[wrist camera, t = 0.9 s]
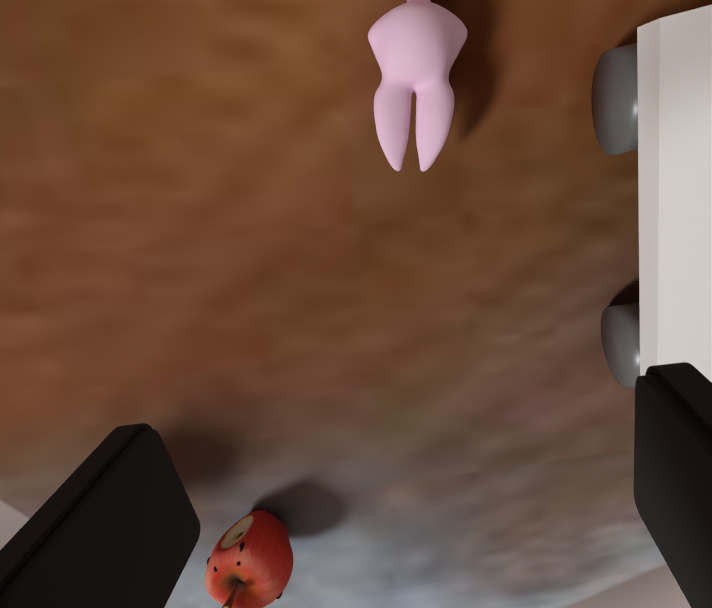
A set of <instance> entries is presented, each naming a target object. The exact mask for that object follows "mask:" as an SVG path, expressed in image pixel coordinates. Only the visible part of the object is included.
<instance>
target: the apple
mask: <svg viewBox="0 0 712 608" xmlns="http://www.w3.org/2000/svg"><path fill="white" fill-rule="evenodd" d="M207 565H208V566H207V570H206V575H205V584H206V588H207V591H208V592H209V594H210V595H211V596H212V597H213V598H214V599H215V600H216V601H218V602H219V603H221V604H223V606H222V608H263V607H265V606H267V605H268V604H270V603H271V602H273V601H274V600H275V599H279V598H280V597H281V595H282V591H283V590H284V588H285V587H286V585H287V583H288V581H289V579H290V576H291V573H292V568H293V553H292V549H291V545H290V542H289V538H288V531H287V528H286V526H285V525H284V523H283V522H281V521H280V520H279V519H277V518H276V517H275V516H274V515H273V514H271V513H270V512H267V511H264V510H258V511H254V512H252V513H250V514H248V515H246V516H245V517H243V518H242V519H241V520H239V521H238V522H237V523H235V524H234V525H233V526H232V527H231V528H230V529H229V530H228V531H227V532H226V533H225V534H224V535H223V536H222V537H221V539H220V540H219V542H218V543H217V545H216V546H215V548H214V550H213V552H212V554H211V557H209V558H208V560H207Z"/></svg>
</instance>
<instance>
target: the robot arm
mask: <svg viewBox="0 0 712 608" xmlns="http://www.w3.org/2000/svg"><path fill="white" fill-rule="evenodd" d="M634 499H635V503H636V506H637V509H638V512H639V514H640V516H641V518H642V520H643V521H644V523H645V525H646V527H647V529H648V530H649V532H650V534H651V536H652V538H653V539H654V541H655V543H656V545H657V547H658V548H659V550H660V552H661V554H662V556H663V557H664V559H665V561H666V563H667V565H668V566H669V568H670V570H671V572H672V574H673V575H674V577H675V578H676V581H677V583H678V584H679V586H680V588H681V590H682V592H683V593H684V595H685V597H686V599H687V600H688V602H689V604H690V606H691V608H712V382H710V381H709V380H708V379H707V378H706V377H705V376H704V375H703V374H702V373H701V372H700V371H698V370H697V369H696V368H695V367H694V366H693V365H691V364H690V363H687V362H682V363H673V364H664V365H655V366H650V367H648V368H647V370H646V374H645V375H642V376H638V377H637V379H636V384H635V442H634ZM199 535H200V522H199V519H198V517H197V515H196V513H195V511H194V508H193V506H192V504H191V502H190V500H189V498H188V495H187V493H186V491H185V489H184V487H183V485H182V482H181V480H180V478H179V476H178V474H177V471H176V469H175V467H174V465H173V463H172V461H171V458H170V456H169V454H168V452H167V450H166V448H165V445H164V443H163V441H162V439H161V437H160V435H159V433H158V432H157V431H156V430H153V429H152V428H151V426H149V425H148V424H144V423H142V424H133V425H125V426H119V427H117V428H115V429H114V430H113V431H112V432H111V433H110V434H109V435H108V436H107V437H106V438H105V439H104V441H103V442H102V443H101V444H100V445H99V446H98V447H97V448H96V449H95V450H94V451H93V452H92V453H91V454H90V455H89V457H88V458H87V459H86V460H85V461H84V462H83V463H82V464H81V465H80V466H79V467H78V468H77V469H76V470H75V471H74V473H73V474H72V475H71V476H70V477H69V478H68V479H67V480H66V481H65V482H64V483H63V484H62V485H61V486H60V487H59V488H58V490H57V491H56V492H55V493H54V494H53V495H52V496H51V497H50V498H49V499H48V500H47V501H46V502H45V503H44V504H43V506H42V507H41V508H40V509H39V510H38V511H37V512H36V513H35V514H34V515H33V516H32V517H31V518H30V519H29V520H28V522H27V523H26V524H25V525H24V526H23V527H22V528H21V529H20V530H19V531H18V532H17V533H16V534H15V535H14V537H13V538H12V539H11V540H10V541H9V542H8V543H7V544H6V545H5V546H4V547H3V548H2V549H1V550H0V608H164V607H165V605H166V603H167V601H168V599H169V597H170V595H171V593H172V591H173V589H174V587H175V585H176V583H177V581H178V579H179V577H180V575H181V573H182V571H183V569H184V567H185V565H186V563H187V561H188V559H189V557H190V555H191V553H192V551H193V549H194V547H195V545H196V543H197V541H198V539H199Z"/></svg>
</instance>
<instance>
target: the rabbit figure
mask: <svg viewBox="0 0 712 608" xmlns="http://www.w3.org/2000/svg"><path fill="white" fill-rule="evenodd" d="M467 34H468V33H467V29H466V27H465V25H464V24H463V23H462V21H461V20H460V19H459V18H458V17H457V16H455V15H454V14H453V13H451V12H450V11H448V10H447V9H445V8H443V7H441V6H440V5H437V4H435V3H432V2H431V0H407V3H404V4H402V5H400V6H398V7H396V8H394V9H393V10H391V11H389V12H388V13H386V14H385V15H383V16H382V17H381V18H380V19H379V20H378V21H377V22H376V23H375V24H374V25H373V26H372V27H371V29H370V31H369V33H368V40H369V42H370V45H371V47H372V49H373V51H374V54H375V56H376V59H377V61H378V63H379V66H380V68H381V72H382V82H381V84H380V86H379V88H378V89H377V91H376V94H375V98H374V116H375V123H376V130H377V135H378V138H379V141H380V144H381V147H382V149H383V151H384V153H385V155H386V157H387V159H388V161H389V163H390V164H391V166H392V167H393V168H394V169H395V170H396V171H400V170H401V167H402V162H403V158H404V154H405V150H406V147H407V141H408V135H409V125H410V113H411V97H412V93H413V92H415V93H416V95H417V102H416V142H417V150H418V155H419V162H420V169H421V171H426V170H427V169H428V168H429V167H430V166H431V165H432V164H433V162H434V161H435V159H436V157H437V156H438V154H439V152H440V151H441V149H442V147H443V145H444V143H445V141H446V138H447V135H448V132H449V129H450V124H451V121H452V116H453V112H454V93H453V90H452V88H451V86H450V84H449V79H448V78H449V72H450V69H451V67H452V65H453V63H454V61H455V59H456V58H457V56H458V54H459V52H460V50H461V48H462V46H463V44H464V42H465V41H466V39H467Z"/></svg>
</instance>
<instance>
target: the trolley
mask: <svg viewBox="0 0 712 608" xmlns="http://www.w3.org/2000/svg"><path fill="white" fill-rule="evenodd" d="M592 115H593V123H594V128H595V132H596V135H597V138H598V141H599V143H600V145H601V147H602V148H603V150H604V151H605V152H606V153H607V154H609V155H616V154H620V153H625V152H630V151H635V150H638V187H639V303H638V302H637V303H630V304H623V305H617V306H610V307H606V308H605V309H604V311H603V314H602V318H601V335H602V343H603V348H604V352H605V356H606V359H607V362H608V365H609V367H610V370H611V372H612V374H613V376H614V377H615V379H616V380H617V382H618V383H619V384H620V385H621V386H622V387H625V388H629V387H635V384H636V379H637V377H638V376H642V375H645V374H646V370H647V368H648V367H650V366H655V365H664V364H673V363H682V362H687V363H690V364H691V365H693V366H694V367H695V368H696V369H697V370H698V371H700V372H701V373H702V374H703V375H704V376H705V377H706V378H707V379H708V380H709V381H710V382H712V5H708V6H704V7H700V8H697V9H693V10H689V11H685V12H681V13H678V14H674V15H670V16H666V17H662V18H659V19H657V20H654V21H652V22H649V23H647V24H644V25H642V26H639V27H637V43H633V44H629V45H626V46H622V47H618V48H614V49H610V50H607V51H605V52H604V53H603V54H602V55H601V57H600V59H599V60H598V63H597V66H596V69H595V73H594V78H593V84H592Z"/></svg>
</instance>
